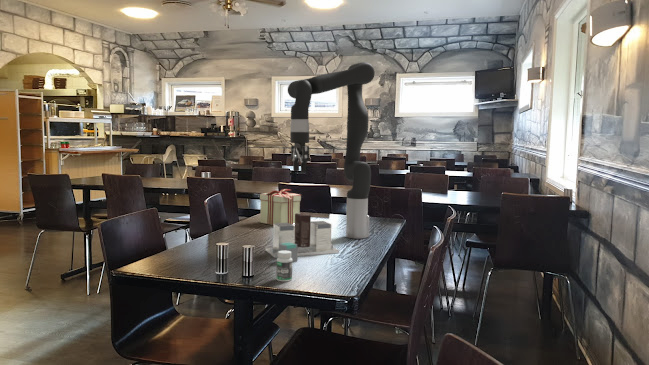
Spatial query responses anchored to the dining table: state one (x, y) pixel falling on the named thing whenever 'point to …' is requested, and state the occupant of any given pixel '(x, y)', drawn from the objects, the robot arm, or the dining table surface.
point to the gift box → (279, 207)
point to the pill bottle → (284, 266)
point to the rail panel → (318, 239)
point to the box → (302, 229)
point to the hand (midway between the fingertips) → (299, 171)
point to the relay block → (289, 249)
